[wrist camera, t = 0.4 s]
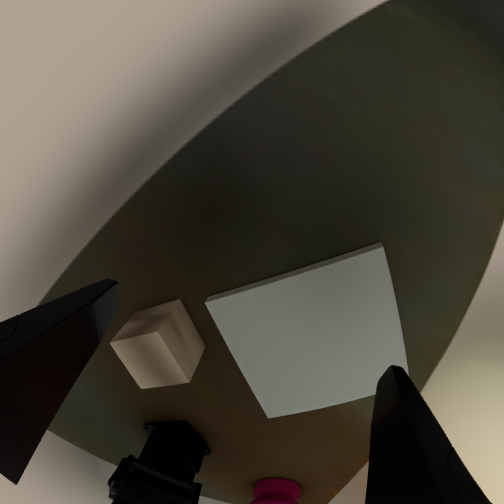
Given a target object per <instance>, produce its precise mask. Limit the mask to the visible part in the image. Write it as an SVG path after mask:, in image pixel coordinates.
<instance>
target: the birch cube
mask: <svg viewBox="0 0 504 504" xmlns="http://www.w3.org/2000/svg"><path fill="white" fill-rule="evenodd" d="M110 344H111V346H112V347H113V349H114V350H115V352H116V353H117V355H118V356H119V358H120V359H121V361H122V362H123V364H124V365H125V367H126V368H127V370H128V371H129V372H130V374H131V375H132V377H133V378H134V379H135V381H136V382H137V384H138V385H139V386H140V388H141V389H145V388H153V387H161V386H169V385H176V384H183V383H189V382H190V381H191V378H192V376H193V374H194V371H195V369H196V367H197V365H198V362H199V360H200V358H201V355H202V353H203V351H204V349H205V344H204V342H203V340H202V339H201V337H200V335H199V333H198V331H197V330H196V328H195V326H194V324H193V322H192V321H191V319H190V317H189V315H188V313H187V311H186V309H185V308H184V306H183V304H182V302H181V300H180V299H178V300H175V301H172V302H168V303H165V304H161V305H158V306H155V307H151V308H148V309H144V310H141V311H138V312H135V313H134V314H133V315H132V317H131V318H130V319H129V320H128V321H127V323H126V324H125V325H124V326H123V327H122V329H121V330H120V331H119V332H118V333H117V335H116V336H115V337H114V338H113V339H112V341H111V342H110Z"/></svg>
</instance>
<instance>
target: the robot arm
mask: <svg viewBox="0 0 504 504" xmlns="http://www.w3.org/2000/svg"><path fill="white" fill-rule="evenodd" d="M119 304H120V290H119V283H118V282H117V281H115V280H112V279H109V278H106V279H103V280H101V281H98V282H96V283H93V284H91V285H88V286H86V287H83V288H81V289H79V290H76V291H74V292H71V293H69V294H66V295H64V296H62V297H59V298H57V299H54V300H52V301H50V302H47V303H45V304H42V305H40V306H38V307H35V308H33V309H31V310H28V311H26V312H24V313H21V314H20V315H16V316H14V317H12V318H10V319H7V320H5V321H3V322H0V473H1V474H2V475H3V476H5V477H6V478H7V479H8V480H10V481H11V482H13V483H14V484H15V485H17V483H18V482H19V480H20V478H21V476H22V474H23V472H24V470H25V468H26V467H27V465H28V463H29V461H30V459H31V457H32V455H33V454H34V452H35V450H36V448H37V446H38V444H39V443H40V441H41V438H42V437H43V435H44V433H45V432H46V430H47V428H48V427H49V425H50V423H51V421H52V420H53V418H54V416H55V414H56V413H57V411H58V409H59V408H60V406H61V404H62V403H63V401H64V399H65V398H66V396H67V394H68V393H69V391H70V390H71V388H72V386H73V385H74V383H75V382H76V380H77V378H78V377H79V375H80V374H81V372H82V370H83V369H84V367H85V366H86V364H87V363H88V361H89V359H90V358H91V356H92V355H93V353H94V352H95V350H96V349H97V347H98V345H99V344H100V342H101V340H102V338H103V336H104V334H105V332H106V330H107V329H108V327H109V325H110V323H111V321H112V319H113V317H114V315H115V313H116V311H117V309H118V307H119ZM143 428H144V429H145V430H146V431H147V432H148V434H149V435H150V436H149V438H148V440H147V442H146V444H145V446H144V448H143V450H142V452H141V454H140V456H139V458H138V459H137V458H135V457H134V456H132V455H130V454H129V456H128V458H122V460H121V462H120V464H119V466H118V467H117V469H116V470H115V472H114V473H113V475H112V476H111V477H110V479H109V481H108V486H109V488H110V489H109V492H110V493H109V498H110V499H112V500H113V502H112V504H198V501H199V496H200V491H201V487H202V484H200V483H195V482H193V480H194V477H195V474H196V473H198V472H199V470H200V467H201V464H202V461H203V458H204V456H207V455H210V453H211V451H210V450H209V448H208V447H207V446H206V445H205V444H204V442H203V441H202V440H201V439H200V438H199V436H198V435H197V434H196V433H195V431H194V430H193V429H192V428H191V426H190V425H189V424H188V423H187V422H184V421H181V422H165V423H145V424H144V426H143ZM365 504H492V503H491V502H490V501H489V500H488V498H487V497H486V496H485V495H484V493H483V492H482V490H481V489H480V487H479V486H478V484H477V483H476V481H475V480H474V479H473V477H472V476H471V475H470V473H469V471H468V470H467V468H466V467H465V465H464V464H463V462H462V461H461V459H460V457H459V456H458V454H457V452H456V451H455V449H454V447H452V444H451V443H450V441H449V439H448V438H447V436H446V434H445V433H444V431H443V429H442V428H441V426H440V424H439V423H438V421H437V420H436V418H435V416H434V415H433V414H432V412H431V410H430V408H429V407H428V405H427V404H426V402H425V401H424V399H423V397H422V396H421V394H420V393H419V391H418V390H417V388H416V387H415V385H414V384H413V382H412V380H411V379H410V377H409V376H408V374H407V373H406V371H405V370H404V368H403V367H401V366H396V365H390V366H389V367H388V368H387V370H386V371H385V372H384V374H383V375H382V376H381V377H380V379H379V380H378V383H377V387H376V395H375V402H374V409H373V416H372V423H371V437H370V454H369V467H368V479H367V489H366V499H365Z"/></svg>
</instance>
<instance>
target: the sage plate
mask: <svg viewBox="0 0 504 504" xmlns="http://www.w3.org/2000/svg"><path fill="white" fill-rule="evenodd" d="M205 304H206V306H207V308H208V310H209V312H210V314H211V316H212V318H213V319H214V321H215V323H216V325H217V327H218V329H219V331H220V333H221V335H222V337H223V338H224V340H225V342H226V344H227V346H228V348H229V350H230V351H231V353H232V355H233V357H234V359H235V361H236V362H237V364H238V366H239V368H240V370H241V371H242V373H243V375H244V377H245V379H246V380H247V382H248V384H249V386H250V388H251V389H252V391H253V393H254V395H255V396H256V398H257V400H258V401H259V403H260V405H261V407H262V408H263V410H264V412H265V413H266V415H267V417H268V418H273V417H279V416H284V415H290V414H295V413H300V412H305V411H310V410H315V409H319V408H324V407H328V406H332V405H337V404H341V403H345V402H349V401H352V400H356V399H360V398H364V397H367V396H371V395H374V394H376V387H377V383H378V380H379V379H380V377H381V376H382V375H383V374H384V372H385V371H386V370H387V368H388V367H389V366H390V365H396V366H401V367H403V368H404V370H405V371H406V373H407V374H408V367H407V360H406V353H405V347H404V341H403V335H402V330H401V324H400V319H399V314H398V309H397V304H396V299H395V294H394V289H393V285H392V281H391V276H390V272H389V268H388V264H387V259H386V255H385V252H384V248H383V246H382V244H381V243H380V242H379V243H376V244H373V245H370V246H367V247H364V248H361V249H358V250H355V251H352V252H349V253H346V254H343V255H340V256H337V257H334V258H331V259H328V260H325V261H322V262H319V263H315V264H312V265H309V266H306V267H303V268H300V269H297V270H294V271H290V272H287V273H284V274H281V275H278V276H275V277H271V278H268V279H265V280H262V281H258V282H255V283H252V284H249V285H245V286H242V287H239V288H236V289H232V290H229V291H226V292H222V293H219V294H216V295H212V296H209V297H208V298H207V300H206V302H205ZM408 376H409V374H408Z"/></svg>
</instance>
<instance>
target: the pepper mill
mask: <svg viewBox="0 0 504 504" xmlns="http://www.w3.org/2000/svg"><path fill="white" fill-rule="evenodd" d="M254 497H255V498H256V499H254V500H253V501H252V502H251V503H250V504H298V503H297V502H296V501H297V500H298V499H299V497H300V487H299V485H298V484H297V483H295V482H293V481H291V480H287V479H281V478H269V479H264V480H261V481H259V482H258V483H256V485H255V490H254Z"/></svg>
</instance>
